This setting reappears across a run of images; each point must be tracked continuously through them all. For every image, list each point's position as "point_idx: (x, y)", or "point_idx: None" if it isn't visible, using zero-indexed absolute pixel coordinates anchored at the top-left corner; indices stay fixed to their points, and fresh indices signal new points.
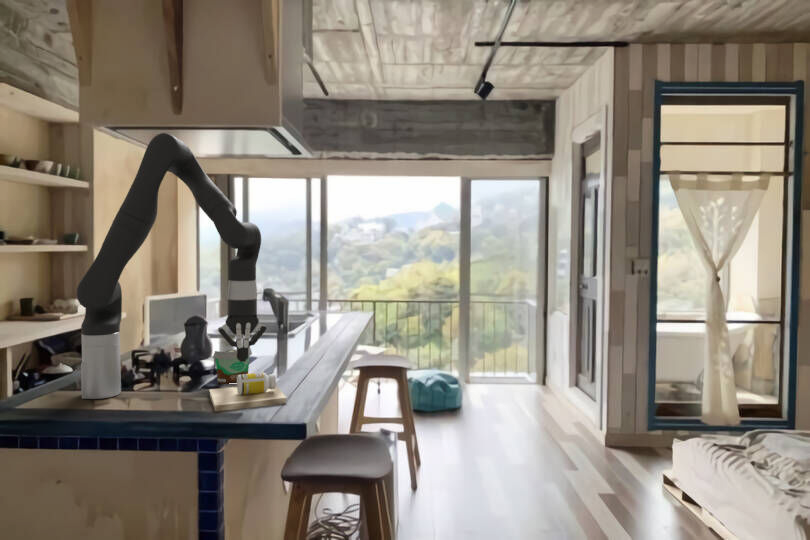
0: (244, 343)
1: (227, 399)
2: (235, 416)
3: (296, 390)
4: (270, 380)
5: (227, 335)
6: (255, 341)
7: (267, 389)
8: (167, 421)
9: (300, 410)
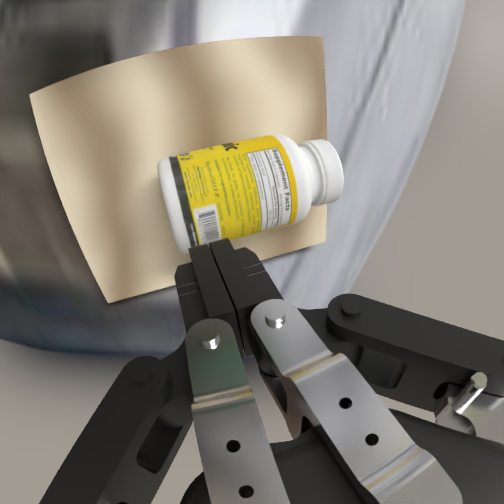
0: (272, 389)
1: (131, 246)
2: (176, 325)
3: (372, 97)
4: (313, 204)
5: (146, 500)
6: (362, 362)
7: (284, 128)
8: (27, 343)
9: (331, 286)
